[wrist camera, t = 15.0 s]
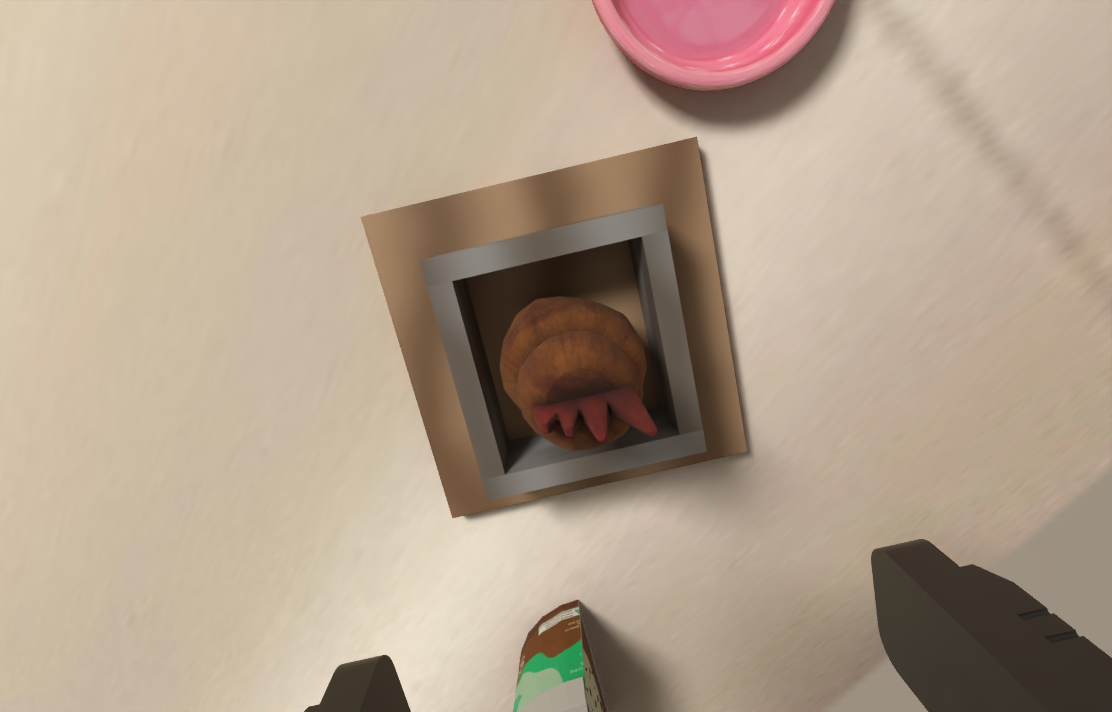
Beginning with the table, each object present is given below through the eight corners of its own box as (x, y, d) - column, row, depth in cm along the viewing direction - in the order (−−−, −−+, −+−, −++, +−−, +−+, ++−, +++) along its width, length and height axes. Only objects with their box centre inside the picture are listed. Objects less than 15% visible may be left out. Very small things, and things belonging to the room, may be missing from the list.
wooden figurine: (636, 300, 31) (723, 371, 17) (616, 398, 33) (680, 544, 18) (514, 279, 31) (495, 335, 16) (499, 380, 32) (468, 515, 18)
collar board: (690, 139, 31) (724, 122, 25) (740, 443, 35) (778, 486, 29) (367, 217, 31) (330, 216, 25) (455, 508, 35) (440, 562, 30)
